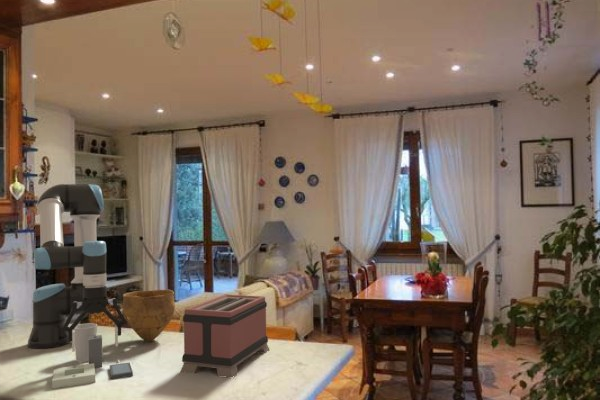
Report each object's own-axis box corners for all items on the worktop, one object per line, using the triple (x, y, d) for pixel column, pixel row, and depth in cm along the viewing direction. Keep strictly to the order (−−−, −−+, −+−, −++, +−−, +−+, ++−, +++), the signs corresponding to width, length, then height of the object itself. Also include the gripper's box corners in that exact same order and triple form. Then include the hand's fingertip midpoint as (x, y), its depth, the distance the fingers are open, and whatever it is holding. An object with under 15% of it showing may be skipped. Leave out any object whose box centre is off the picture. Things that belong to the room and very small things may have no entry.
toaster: (272, 348, 186) (272, 294, 187) (232, 378, 154) (231, 313, 154) (228, 343, 193) (227, 292, 193) (179, 372, 160) (179, 309, 161)
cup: (88, 363, 170) (88, 329, 170) (68, 362, 172) (68, 328, 172) (102, 356, 178) (101, 323, 178) (82, 355, 179) (82, 322, 180)
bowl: (112, 343, 195) (111, 293, 195) (153, 332, 212) (152, 286, 212) (145, 351, 183) (144, 298, 183) (185, 339, 200) (185, 290, 200)
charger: (88, 365, 168) (88, 336, 168) (101, 363, 170) (101, 334, 170) (88, 369, 164) (88, 339, 164) (102, 367, 166) (102, 337, 166)
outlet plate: (54, 376, 158) (54, 368, 158) (94, 370, 163) (94, 362, 163) (52, 388, 147) (52, 380, 147) (95, 382, 152) (95, 373, 152)
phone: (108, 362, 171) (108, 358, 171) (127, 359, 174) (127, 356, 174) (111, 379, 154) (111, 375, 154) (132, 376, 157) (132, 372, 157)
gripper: (53, 290, 159) (54, 355, 158) (134, 284, 169) (134, 345, 168) (54, 287, 165) (55, 350, 165) (131, 281, 176) (132, 340, 175)
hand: (95, 348), depth 167 cm, fingers open, 13 cm apart
